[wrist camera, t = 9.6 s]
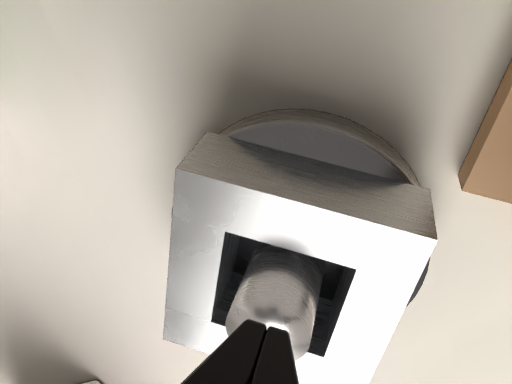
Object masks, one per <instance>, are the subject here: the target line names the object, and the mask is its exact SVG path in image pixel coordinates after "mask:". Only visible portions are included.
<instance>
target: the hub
mask: <svg viewBox="0 0 512 384" xmlns="http://www.w3.org/2000/svg"><path fill="white" fill-rule="evenodd" d="M220 135H224V136H228V137H231V138H235V139H239V140H243V141H247V142H250V143H254V144H258V145H262V146H266V147H270V148H273V149H277V150H281V151H285V152H289V153H293V154H296V155H300V156H304V157H308V158H312V159H316V160H319V161H323V162H327V163H331V164H335V165H339V166H342V167H346V168H350V169H354V170H358V171H362V172H365V173H369V174H373V175H377V176H381V177H385V178H388V179H392V180H396V181H400V182H404V183H408V184H411V185H415V186H419V187H420V185H419V183H418V181H417V179H416V177H415V175H414V173H413V172H412V170H411V169H410V167H409V166H408V165H407V163H406V162H405V160H404V159H403V158H402V157H401V156H400V155H399V154H398V153H397V152H396V150H395V149H394V148H393V147H392V146H390V145H389V144H388V143H387V142H386V141H384V140H383V139H382V138H381V137H379V136H378V135H376V134H375V133H373V132H372V131H370V130H368V129H367V128H365V127H364V126H361V125H359V124H357V123H355V122H353V121H351V120H348V119H346V118H343V117H340V116H336V115H333V114H330V113H325V112H320V111H315V110H305V109H284V110H274V111H269V112H264V113H259V114H256V115H253V116H250V117H248V118H245V119H243V120H241V121H239V122H237V123H235V124H233V125H231V126H229V127H228V128H226V129H225V130H224V131H222V132H221V133H220ZM172 212H173V208H172ZM429 261H430V257H429V259H428V261H427V263H426V265H425V268H424V270H423V272H422V274H421V276H420V278H419V280H418V282H417V284H416V286H415V288H414V290H413V292H412V295H411V297H410V299H409V301H408V303H407V305H406V307H407V306H408V304H409V303H410V302H411V301H412V300H413V298H414V297H415V296H416V294H417V292H418V291H419V289H420V287H421V286H422V284H423V281H424V279H425V276H426V274H427V271H428V266H429ZM344 267H345V266H343V265H340V264H336V263H333V262H330V261H326V260H323V259H319V258H316V257H312V256H309V255H305V254H302V253H298V252H295V251H291V250H288V249H284V248H281V247H277V246H274V245H271V244H267V243H264V242H260V241H257V240H253V239H250V238H246V237H243V236H240V237H239V243H238V248H237V254H236V260H235V265H234V272H237V273H241V274H244V276H243V279H242V281H241V284H240V286H239V288H238V291H237V293H236V296H235V298H234V301H233V303H232V305H231V308H230V310H229V313H228V315H227V318H226V322H225V327H226V332H227V335H228V336H229V335H230V334H231V333H232V332H233V331H235V330H236V329H237V328H238V327H239V326H240V325H241V324H242V323H243V322H244V321H245V320H247V319H251V320H254V321H257V322H261V323H264V324H265V325H266V327H267V328H268V327H269V326H273V327H277V328H280V329H283V330H286V331H288V332H289V334H290V338H291V344H292V349H293V354H294V359H295V361H297V360H299V359H300V358H302V357H303V356H304V355H305V354H306V352H307V351H308V349H309V346H310V342H311V337H312V331H313V326H314V321H315V315H316V310H317V305H318V299H319V297H321V298H324V299H328V300H331V301H333V298H334V295H335V292H336V289H337V287H338V284H339V281H340V278H341V275H342V272H343V270H344ZM406 307H405V308H406Z"/></svg>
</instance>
